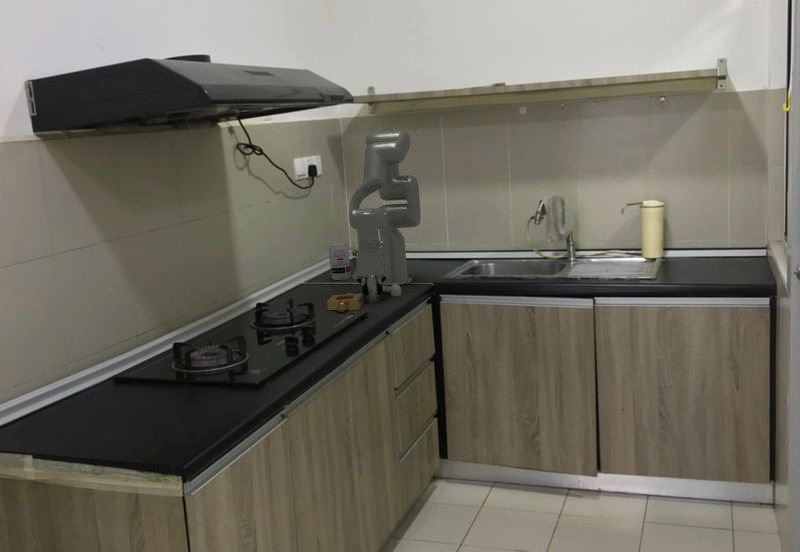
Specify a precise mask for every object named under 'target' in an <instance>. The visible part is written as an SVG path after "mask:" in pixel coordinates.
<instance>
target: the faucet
mask: <svg viewBox="0 0 800 552" xmlns="http://www.w3.org/2000/svg"><path fill="white" fill-rule="evenodd" d="M384 274H385V273H384ZM382 286H383V293H384V292H390V294H391V296H392V297H398V296H401V295H402V288H401V285H397V284H394V285H392V286H387V285H382Z"/></svg>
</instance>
